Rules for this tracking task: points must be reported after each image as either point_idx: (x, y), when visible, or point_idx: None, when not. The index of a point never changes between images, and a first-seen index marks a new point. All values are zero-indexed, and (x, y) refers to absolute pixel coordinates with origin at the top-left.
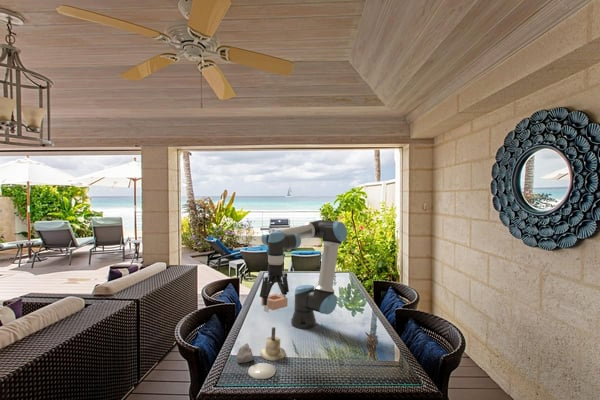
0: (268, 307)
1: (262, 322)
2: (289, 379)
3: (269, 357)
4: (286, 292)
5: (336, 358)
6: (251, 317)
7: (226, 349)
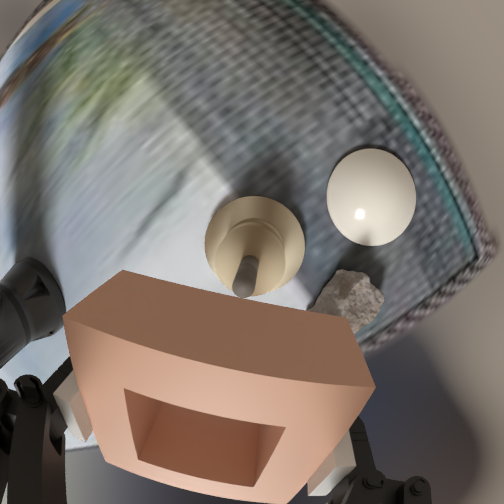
0: None
1: None
2: (350, 91)
3: (297, 228)
4: (17, 394)
5: (131, 58)
6: None
7: None
